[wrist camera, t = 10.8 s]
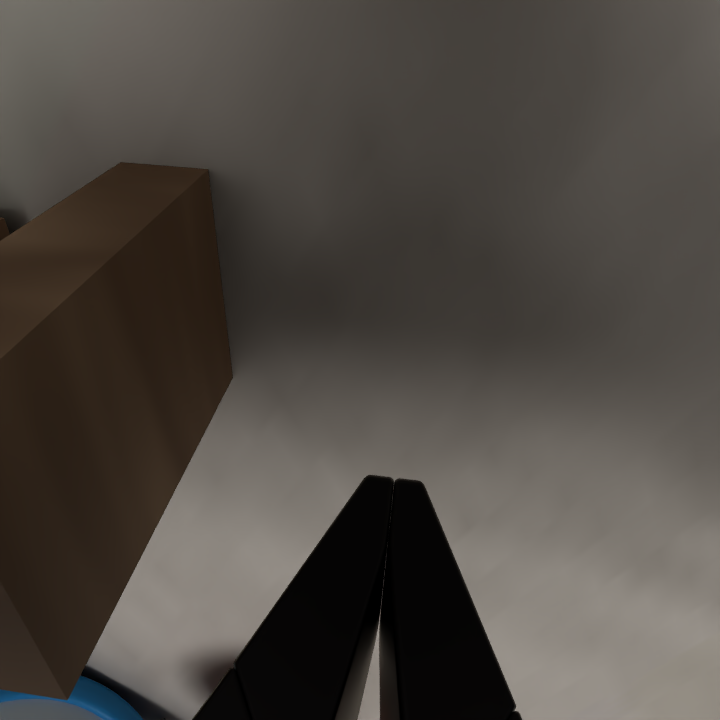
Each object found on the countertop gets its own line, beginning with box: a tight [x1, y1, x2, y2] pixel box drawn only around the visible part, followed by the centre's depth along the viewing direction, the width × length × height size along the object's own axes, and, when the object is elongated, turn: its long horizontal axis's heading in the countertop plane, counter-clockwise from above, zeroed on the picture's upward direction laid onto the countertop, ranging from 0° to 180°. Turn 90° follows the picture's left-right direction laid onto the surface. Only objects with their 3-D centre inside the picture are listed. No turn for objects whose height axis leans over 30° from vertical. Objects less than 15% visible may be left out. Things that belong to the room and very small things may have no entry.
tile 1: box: [0, 162, 233, 700], centre depth 9 cm, size 2×5×7 cm, turn 178°
